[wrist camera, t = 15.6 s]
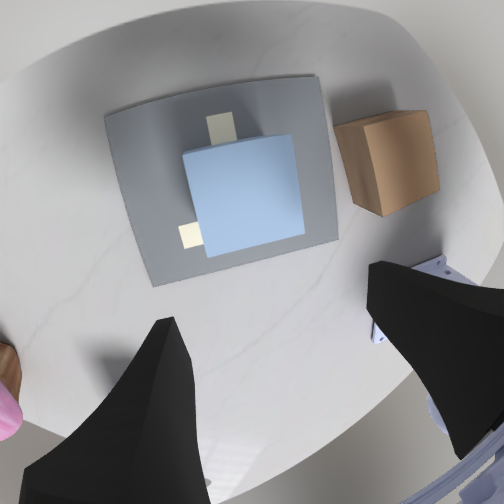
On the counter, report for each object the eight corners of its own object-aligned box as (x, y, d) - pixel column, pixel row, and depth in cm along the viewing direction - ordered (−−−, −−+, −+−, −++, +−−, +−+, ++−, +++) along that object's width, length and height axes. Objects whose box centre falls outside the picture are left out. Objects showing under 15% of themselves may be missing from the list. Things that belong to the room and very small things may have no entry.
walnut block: (392, 110, 18) (426, 110, 14) (406, 179, 21) (439, 189, 17) (331, 127, 18) (363, 126, 14) (352, 202, 20) (383, 217, 17)
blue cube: (264, 135, 17) (291, 134, 12) (276, 209, 19) (304, 233, 14) (184, 151, 16) (182, 155, 11) (202, 227, 18) (207, 257, 13)
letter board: (316, 77, 16) (318, 76, 16) (336, 237, 21) (338, 239, 21) (105, 117, 14) (103, 117, 14) (153, 284, 19) (152, 287, 19)
